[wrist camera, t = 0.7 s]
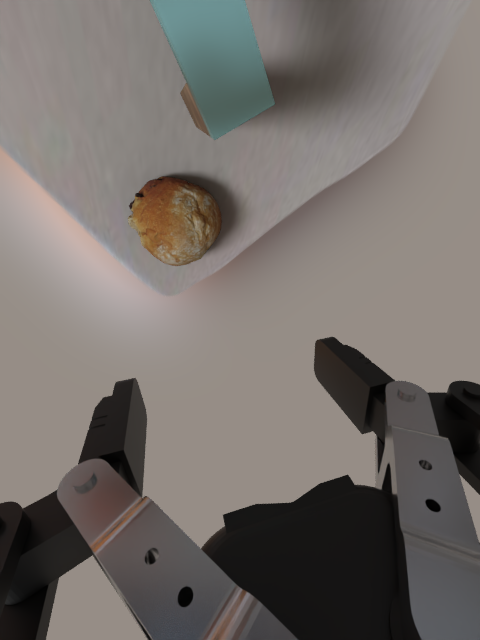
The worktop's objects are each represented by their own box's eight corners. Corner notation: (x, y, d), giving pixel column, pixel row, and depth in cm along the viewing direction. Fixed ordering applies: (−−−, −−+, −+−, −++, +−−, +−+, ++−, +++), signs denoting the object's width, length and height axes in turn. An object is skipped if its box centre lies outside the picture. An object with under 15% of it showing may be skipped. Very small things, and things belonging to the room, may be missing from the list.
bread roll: (180, 251, 41) (205, 286, 37) (110, 230, 33) (132, 270, 29) (215, 190, 37) (247, 220, 32) (144, 148, 29) (175, 182, 25)
